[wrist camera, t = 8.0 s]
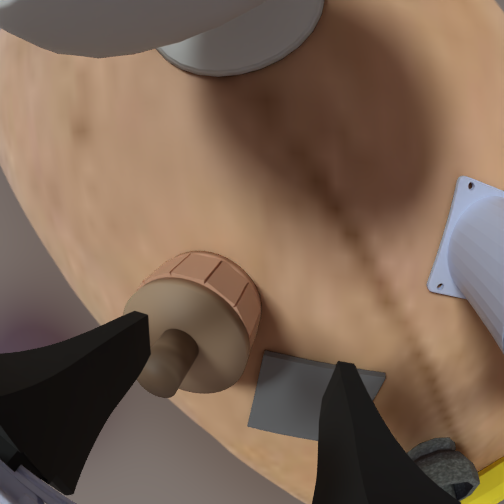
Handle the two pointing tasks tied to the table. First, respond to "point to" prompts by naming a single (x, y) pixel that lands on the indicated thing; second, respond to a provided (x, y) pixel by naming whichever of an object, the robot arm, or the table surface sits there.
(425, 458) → the mortar and pestle
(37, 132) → the table surface
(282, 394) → the mat
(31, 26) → the chalice
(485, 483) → the yellow rounded block
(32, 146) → the table surface
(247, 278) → the bowl
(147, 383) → the lid
